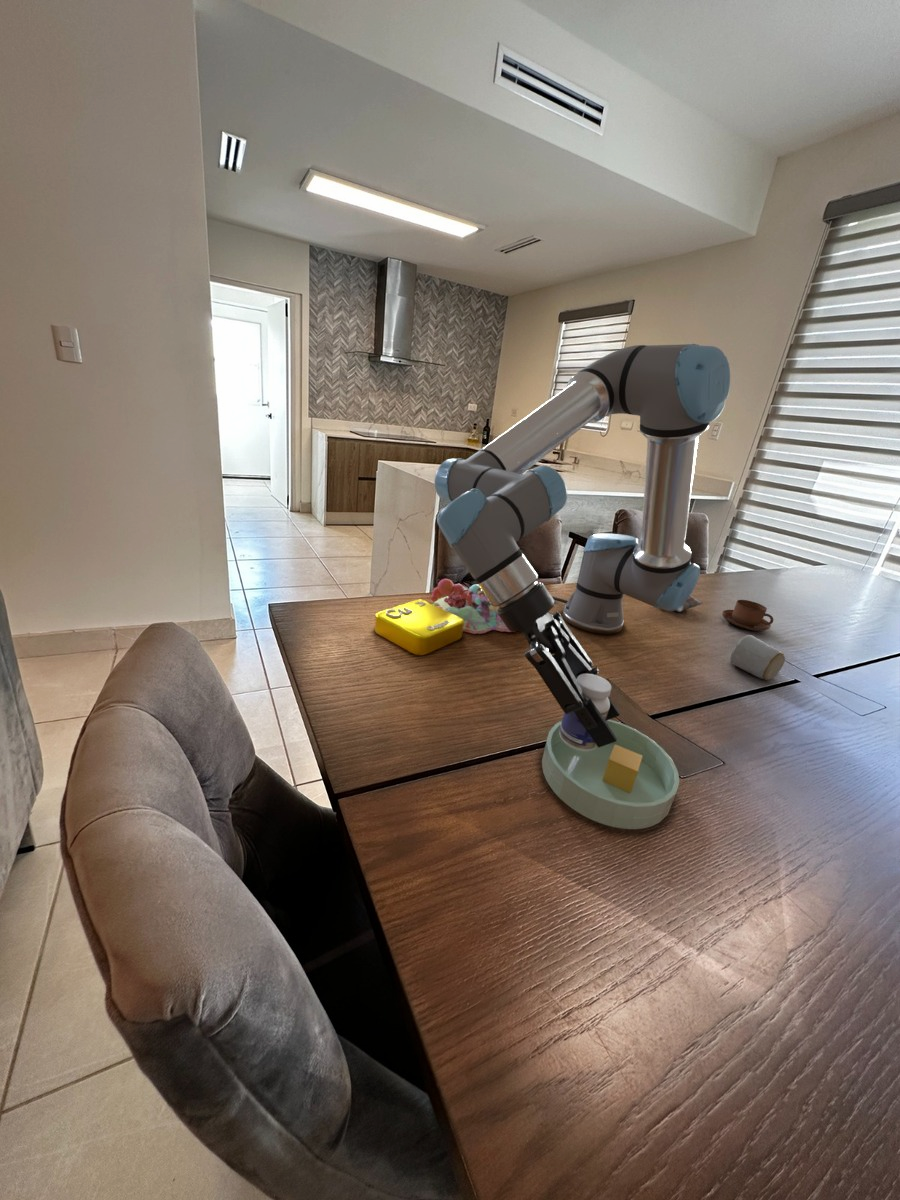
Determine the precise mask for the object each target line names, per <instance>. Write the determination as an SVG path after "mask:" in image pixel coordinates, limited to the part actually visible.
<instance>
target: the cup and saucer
mask: <svg viewBox="0 0 900 1200" xmlns="http://www.w3.org/2000/svg"><path fill="white" fill-rule="evenodd" d="M767 609H768V608H767V607H766V606H765V605H763V604H761V603H758V602H755V601H752V600H748V599H737V600H736V603H735V605H734V608H733V609H725V610H723V611H722V617H723V618H724V619H725V620H726V621H727V622H728V623H730V624H732V625H733V626H735V627H738V628H741V629H744V630H749V631H756V632H763V631H766V630H770V628H771V627H772V624H773V623H774V617H773V616H772V615H771V614H769V613H767ZM765 617H768V618H769V620H770V621H768V620H766V619H765Z"/></svg>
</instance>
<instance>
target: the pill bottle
mask: <svg viewBox="0 0 900 1200" xmlns="http://www.w3.org/2000/svg"><path fill="white" fill-rule="evenodd" d="M576 680H577V682H578V684H579V686H580V688H581V689H582V691H583V693H584V695H585V697H586V699H587V700H589V699H591V701H592V702H593V704H594V705H595V706H596V708H597V709H598V711H599V712H600V714H601V715H602V717H603V718H604V720H605V721H606V718H607V715H608V711H609V708H610V701H609V699H608V697H610V696H611V691H612V685H611V683H610V682H609V681H608V680H607V679H605V678H604V677H602V676H600V675H598V674H596V675H594V674H581V675H579V676H578V678H577V679H576ZM561 721H562V723H561V726H560V731H559V734H560V738H561V739H562V741H563V742H564V743H565V744H566V745H568V746H569V747H571V748H573V749H575V750H579V751H592V750H594V749H596V748H597V745H596V743H595V742H594V740H593V739H592V737H591V736H590V734H589V733H588V732H587V730H586V729H585V727H584V726H583V724H582V723H581V721H580V720H579V718H578V717H577V715H576V714H575V713H574V711H573V712H570V713H568V714H565V713H564V712H563V716H562V720H561Z"/></svg>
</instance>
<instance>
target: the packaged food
mask: <svg viewBox="0 0 900 1200" xmlns="http://www.w3.org/2000/svg"><path fill="white" fill-rule="evenodd" d="M701 605H703V601H701V600H698V599H696V597H694V596H693V595H691V594H690V596H689V597H688V599H687V600H686V601H685V602H684V604H683V605H682V606H680V607H679V608H678V609H676V610H674V612H678V613H681V612H682V611H685V610H689V609H691V608H695V607H697V606H701Z"/></svg>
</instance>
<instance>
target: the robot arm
mask: <svg viewBox="0 0 900 1200" xmlns="http://www.w3.org/2000/svg"><path fill="white" fill-rule="evenodd" d="M730 385H731V369H730V363H729V361H728V357H727V356H726V355H725V353H724V352H723V350H721V348H719V347H717V346H714V345H700V344H696V343H690V344H689V343H688V344H687V343H686V344H657V345H655V344H654V345H645V344H638V345H636V344H635V345H631V346H625V347H623V348H620V349H617V350H615V351H611V352H610V353H608V354H606V355H604V356H602V357H600V358H599V359H597V360H595V361H593V362H592V363H590V364H588V365H586V366H585V367H584V368H582V369H580V370H579V371H578V372H576V373H575V374H574V375H572V376H571V377H570V379H569V380H568V382H567V384H566V387H565V388H564V389H563V390H561V391H559V393H557V394H556V395H554V396H552V397H551V398H550V399H549V400H547V401H545V402H544V403H543V404H541V405H540V406H539V407H538V408H536V409H535V410H533V411H532V412H531V413H529V414H527V416H525V417H524V418H522V419H521V420H520V421H518V422H517V423H516V424H513V426H511V427H510V428H509V429H507V430H506V431H505V432H503V433H501V434H500V435H499V436H497V437H496V438H495V439H493V440H492V441H490V442H489V443H488V444H487V445H485V446H483V447H482V448H481V449H479V450H478V451H476V452H475V453H474V454H472V455H471V456H469V457H468V458H466V459H464V458H462V457H457V458H454V457H453V458H448V459H446V460H444V461H443V462H442V463H440V465H439V466H438V468H437V469H436V472H435V476H434V489H435V492H436V494H437V496H438V497H439V498H440V500H442V501H443V502H446V503H448V504H447V505H446V506H444V507H443V508H442V509H441V510H440V512H439V513H438V514H437V516H436V524H437V526H438V527H439V529H440V530H441V533H442V534H443V536H444V538H445V539H446V541H447V543H448V545H449V547H450V548H452V549H453V551H454V552H455V554H456V555H457V557H458V558H459V560H460V561H461V562H462V564H463V565H464V567H465V568H466V570H467V571H468V572H469V574H470V575H471V576H472V578H473V579H474V581H475V582H476V583H477V585H479V586H480V588H481V593H482V594H483V595H486V597H487V598H488V600H489V601H490V603H491V604H492V605H493V606H495V607H497V606H499V608H498V612H497V613H498V615H499V616H500V618H501V619H502V621H503V622H504V624H505V625H506V626H507V628H508V629H509V630H510V631H513V632H512V633H515V632H514V631H516V632H518V631H519V632H522V633H523V635H524V637H525V640H526V642H527V643H528V645H529V649H528V650H526V651H525V652H524V657H525V658H526V660H527V661H528V662H529V663H530V664H531V665H532V666H533V667H534V668H535V670H536V671H537V673H538V675H539V676H540V678H541V679H542V681H543V682H544V684H545V686H546V687H547V688H548V690H549V691H550V693H551V694H552V696H553V698H554V699H555V701H556V702H557V704H558V705H559V706H560V707H559V708H561V710H562V711H563V714H564V713H565V714H568V713H570V712H573V711H574V713H575V714H576V715H577V717H578V718H579V720H580V721H581V723H582V724H583V726H584V727H585V729H586V730H587V732H588V733H589V734H590V736H591V737H592V739H593V740H594V742H595V743H596V745H597V746H598V748H599V747H602V746H605V745H607V744H610V743H613V742H616V741H617V737H616V736H615V734H614V733H613V731H612V730H611V728H610V727H609V726H608V724H607V723H606V721H607V720H609V719H610V720H613V719H615V718H617V717H619V716H620V714H621V712H620V711H619V709H618V707H617V706H616V704H615V703H614V702H613V701H612V699H611V697H610V696H609V697H608V699H609V701H610V708H609V711H608V715H607V718H606V721H605V720H604V718H603V717H602V715H601V714H600V712H599V711H598V709H597V708H596V706H595V705H594V704H593V702H592V701H591V699H589V700H587V699H586V697H585V695H584V693H583V691H582V689H581V688H580V686H579V684H578V682H577V678H578V676H579V675H581V674H594V675H598V674H600V670H599V668H598V667H597V666H595V667H594V662H593V661H592V659H591V658H590V656H589V655H588V654H587V652H586V651H585V649H584V648H583V646H582V645H581V643H580V642H579V640H578V639H577V637H575V635H574V634H573V632H572V630H570V628H569V627H568V624H569V625H571V626H572V627H575V628H577V629H579V630H582V631H584V632H589V633H594V634H598V635H599V634H600V635H611V634H612V635H613V634H617V633H619V632H621V631H622V629H623V625H624V621H625V620H624V609H623V607H624V606H623V597H624V595H625V596H627V597H630V598H632V599H634V600H637V601H639V602H642V603H645V604H646V605H649V606H651V607H653V608H656V609H657V608H658V609H660V610H663V611H666V612H673V611H674V610H676V609H678V608H679V607H680V606H682V605H683V604H684V602H685V601H686V600H687V599H688V597H689V596H690V595H691V594H692V593H693V591H694V590H695V588H696V586H697V584H698V581H699V578H700V576H701V568H700V567H701V566H699V565H698V564H696V563H694V562H691V559H692V551H691V548H690V546H688V545H687V544H686V538H687V537H686V536H687V530H688V521H689V514H690V513H689V512H690V504H691V497H692V488H693V482H694V474H695V466H696V458H697V449H698V443H699V437H700V436H701V435H702V434H704V433H705V432H706V431H708V429H709V428H710V424H711V423H712V422H714V421H715V420H717V418H718V417H719V416H720V415H721V414H722V412H723V410H724V408H725V407H726V400H727V399H728V397H729V392H730ZM619 414H620V415H621V414H623V415H632V416H637V417H639V432H640V434H642V435H643V437H645V439H647V444H646V457H645V458H646V459H645V474H644V490H643V507H642V520H641V521H642V522H641V523H642V524H641V537H640V542H639V539H638V538H637V537H635V536H633V535H627V534H620V533H594V534H593V535H590V536H589V537H588V538H587V541H586V543H585V546H584V549H583V555H582V559H581V562H580V563H581V564H580V567H579V573H578V577H577V580H576V585H575V589H574V591H573V592H572V594H571V595H570V597H569V598H568V599H564V598H560V597H557V596H554V595H553V596H552V594H551V592H550V591H549V589H548V588H547V587H546V585H545V584H544V582H541V581H538V580H539V574H538V572H536V570H535V569H534V567H533V565H532V564H531V562H530V561H529V560H528V558H527V557H526V555H525V554H524V553H523V551H522V550H521V549H520V547H519V545H518V543H517V542H519V541H520V540H521V539H523V538H524V537H526V536H527V535H528V534H530V533H532V532H533V531H534V530H536V529H537V528H539V527H540V526H542V525H543V524H544V523H547V522H549V521H550V520H551V519H552V518H553V517H554V516H555V515H556V514H557V513H558V512H560V511H561V510H562V509H563V508H564V507H565V505H566V502H567V501H568V490H567V485H566V483H565V480H564V478H563V477H562V475H560V473H559V472H558V471H557V470H556V469H554V468H553V467H551V466H548V465H537V466H535V467H534V468H532V467H533V466H534V465H536V464H538V462H540V461H541V460H542V459H544V458H545V457H546V456H548V455H549V454H550V453H551V452H552V451H554V450H556V448H558V447H559V446H561V444H563V443H564V442H565V441H567V440H568V439H569V438H570V437H572V436H573V435H574V434H576V433H577V432H578V431H580V430H581V429H583V428H584V427H585V426H586V425H588V424H594V423H598V422H600V421H602V420H603V419H604V418H605V417H607V416H611V415H619ZM556 602H560V603H563V604H564V606H563V610H562V614H561V613H560V612H559V611H555V612H554V613H551V612H550V611H551V610H552V609H553V607H554V606H555V605H556ZM674 612H675V611H674ZM566 622H567V623H568V624H566Z"/></svg>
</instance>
